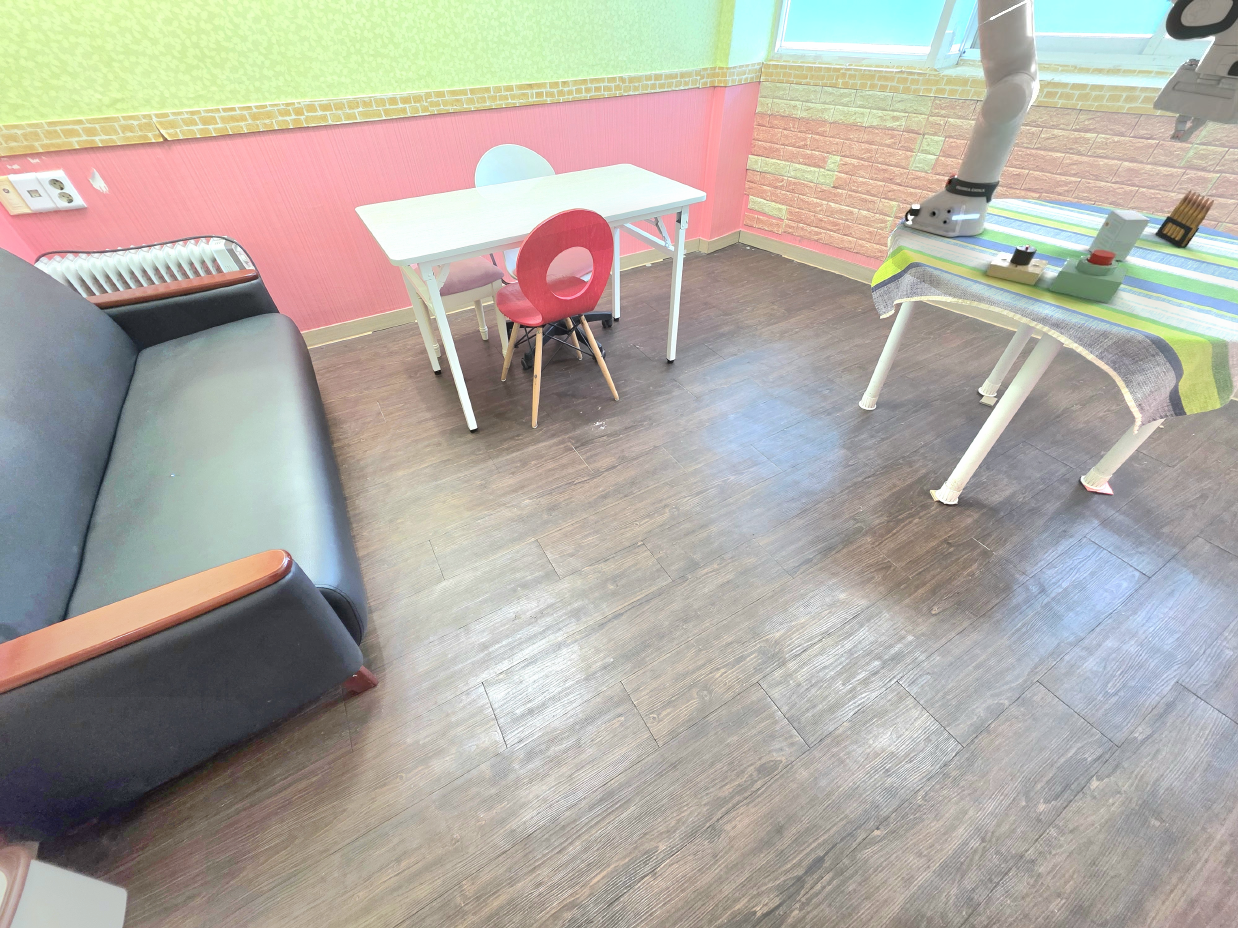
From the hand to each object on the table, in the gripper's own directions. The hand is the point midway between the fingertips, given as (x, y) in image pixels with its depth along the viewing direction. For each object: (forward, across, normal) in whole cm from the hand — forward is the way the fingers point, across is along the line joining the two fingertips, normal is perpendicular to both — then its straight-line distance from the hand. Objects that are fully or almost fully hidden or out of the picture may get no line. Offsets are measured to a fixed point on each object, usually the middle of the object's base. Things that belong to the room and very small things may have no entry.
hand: (1178, 140), depth 112 cm
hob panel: (+29, +1, -23) cm, 37 cm away
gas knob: (+26, +1, -23) cm, 35 cm away
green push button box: (+29, +12, -13) cm, 34 cm away
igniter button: (+22, +12, -13) cm, 29 cm away
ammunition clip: (+29, -14, +32) cm, 45 cm away
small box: (+29, -7, +8) cm, 31 cm away
